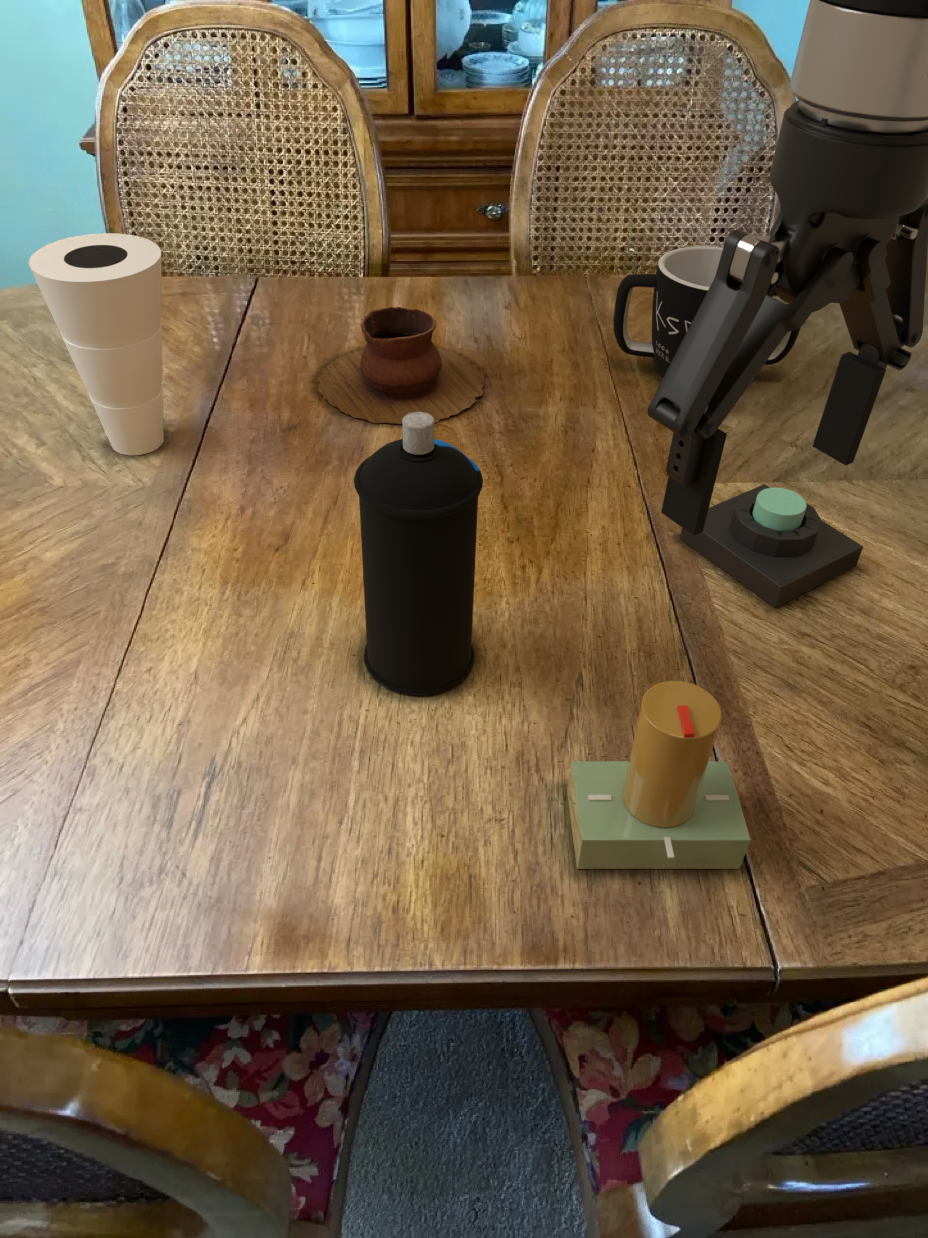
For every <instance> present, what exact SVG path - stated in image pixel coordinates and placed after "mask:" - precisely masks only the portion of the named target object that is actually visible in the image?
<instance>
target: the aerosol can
mask: <svg viewBox="0 0 928 1238" xmlns="http://www.w3.org/2000/svg"><path fill="white" fill-rule="evenodd" d="M434 421H435V420H434V418H433V417H432V416H431V415H430V414H427V413H424V412H412V413H409V414H407V415H406V416H404V417H403V420H402V424H401V425H402V438H400V439H397V440H393V441H391V442H388V443H386V444H385V445H383V446H381V447H379V448H378V449H377V450H376V451H375V452H373V453H372V454H371V455H369V456H368V457H367V458H365V460H363V461H362V462H361V463H360V464H359V466H358V467H357V469H356V470H355V474H354V477H353V484H354V485H353V486H354V489H355V492H356V493H357V496H358V504H359V520H360V521H359V522H360V543H361V559H362V574H363V575H362V578H363V579H362V580H363V597H364V616H365V618H364V619H365V633H366V634H365V636H366V637H365V638H366V645H365V647H364V652H363V661H364V665H365V668H366V671H367V672H368V674H369V675H370V676H371V678H372V679H373V680H374V681H376V682H377V683H378V684H380V685H381V686H382V687H384V688H386V689H387V690H390V691H392V692H395V693H399V694H403V695H408V696H431V695H434V694H440V693H442V692H446V691H448V690H450V689H452V688H454V687H456V686H457V685H459V684H461V682H463V681H464V680H465V679H466V678H467V676H468V675H469V674H470V672H471V671H472V668H473V666H474V663H475V655H476V654H475V649H474V646H473V643H472V641H473V620H474V600H475V599H474V597H475V575H476V553H477V535H478V533H477V532H478V531H477V530H478V528H477V527H478V510H479V496H480V494H481V492H482V490H483V487H484V478H483V473H482V471H481V469H480V468H479V466H478V464H476V463H475V462H474V461H473V460H472V458H469V457H468V456H466V454H465V453H463V452H462V451H461V450H459V449H458V448H457V447H456V446H454V445H452V444H450V443H449V442H446V441H443V440H441V439H436V438H435V423H434Z"/></svg>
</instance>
